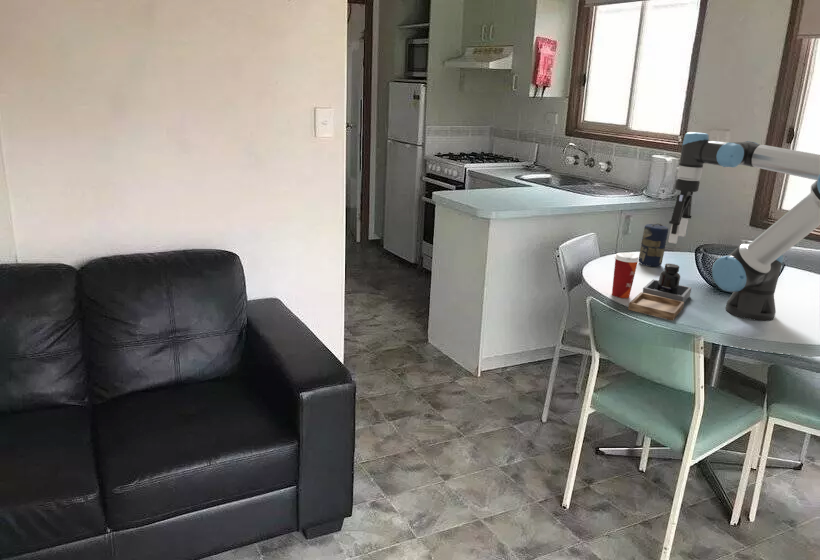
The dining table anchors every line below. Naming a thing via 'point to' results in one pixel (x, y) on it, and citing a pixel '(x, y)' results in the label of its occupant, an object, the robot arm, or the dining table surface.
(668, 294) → the holder box
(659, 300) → the tray
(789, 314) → the dining table surface
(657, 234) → the canister
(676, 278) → the supplement bottle
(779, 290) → the dining table surface
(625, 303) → the dining table surface
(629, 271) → the coffee cup
